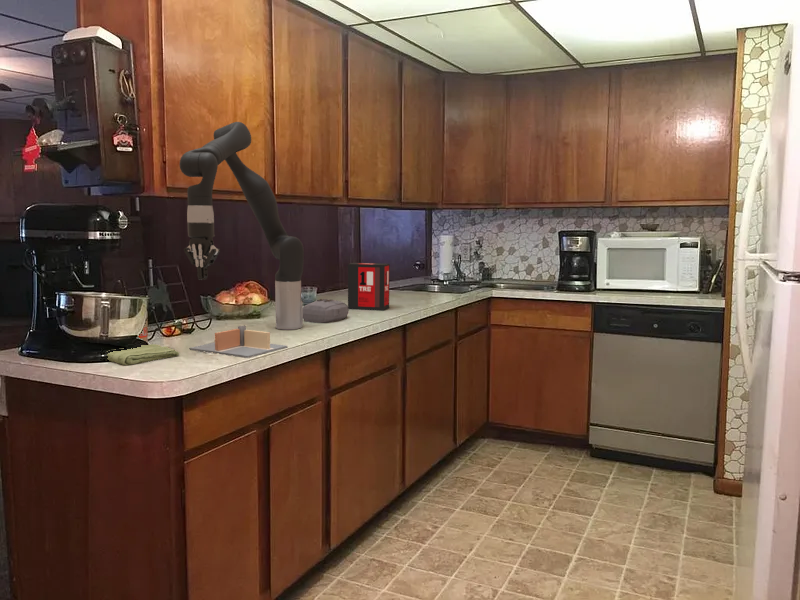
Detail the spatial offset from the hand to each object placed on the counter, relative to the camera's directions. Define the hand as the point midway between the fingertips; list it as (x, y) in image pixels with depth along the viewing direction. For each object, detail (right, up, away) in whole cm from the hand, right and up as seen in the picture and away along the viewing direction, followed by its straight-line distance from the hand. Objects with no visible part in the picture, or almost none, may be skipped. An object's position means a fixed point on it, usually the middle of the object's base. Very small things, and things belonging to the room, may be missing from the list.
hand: (202, 279), depth 196 cm
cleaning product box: (+45, -10, +96) cm, 106 cm away
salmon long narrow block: (+7, -20, +1) cm, 22 cm away
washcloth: (-14, -23, -10) cm, 29 cm away
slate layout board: (+10, -21, +4) cm, 24 cm away
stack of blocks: (-29, -20, +9) cm, 37 cm away
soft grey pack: (+30, -14, +64) cm, 72 cm away
